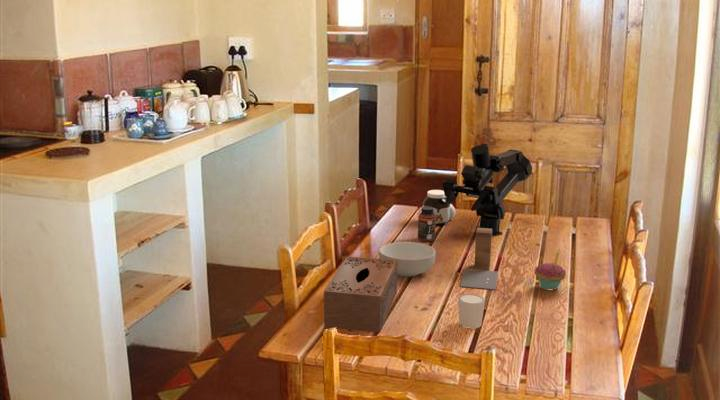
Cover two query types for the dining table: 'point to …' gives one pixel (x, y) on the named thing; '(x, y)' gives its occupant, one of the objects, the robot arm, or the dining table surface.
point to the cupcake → (550, 274)
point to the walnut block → (483, 249)
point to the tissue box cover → (361, 294)
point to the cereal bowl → (409, 257)
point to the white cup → (471, 310)
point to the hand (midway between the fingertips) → (458, 207)
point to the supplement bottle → (426, 224)
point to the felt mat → (479, 279)
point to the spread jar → (439, 206)
